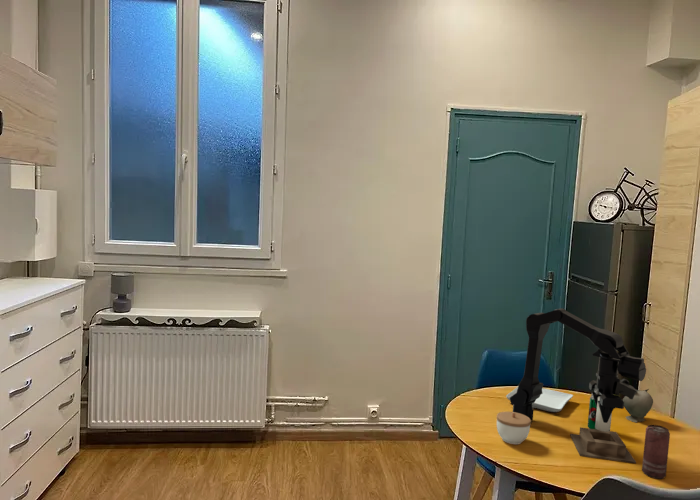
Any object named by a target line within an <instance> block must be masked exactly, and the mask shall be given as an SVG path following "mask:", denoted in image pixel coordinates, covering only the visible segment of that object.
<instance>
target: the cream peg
mask: <svg viewBox="0 0 700 500" xmlns="http://www.w3.org/2000/svg"><path fill="white" fill-rule="evenodd" d="M598 401H600V396H599V397H598ZM612 415H613V412H612V413H611V415H610V418H609V420H608V422H607V423H604V422H603V419H602V415H601V412H600V408H599V405H598V402H597V412H596V423H595V428H596V429H597V430H600V431H604V432H609V431H611V425H612Z"/></svg>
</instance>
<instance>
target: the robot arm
mask: <svg viewBox="0 0 700 500" xmlns="http://www.w3.org/2000/svg"><path fill="white" fill-rule="evenodd" d="M556 322H559V323H561V325H562V324H563V326H566V327H567V328H568V329H569V328H570V329H571V330H573V331H575V332H576V333H578V334H580V335H582V336H584V337H585V338H587V339H589V340H590V342H591V343H592V344H593V345H594V346H595V347H596V348H597V351H595V352H593V353H592V356H593V357H597V358H598V366H597V367H598V369H597V372H595V376H596V378H597V379H596V380H595V379H593V380H591V381H590V382H589V385H588V388H589V390H590V391H592V392H591V395H593V398H594V401H595V404H596V407H597V402H598V405H599V408H600V412H601V415H602V419H603V422H604V423H607V422H608V420H609V418H610V415H611V413H612V414H613V411H614V409H619V410H620V409H621V410H623V409H624V408H625V407H624V402H623V398H622V397H620V396H619V395H620V394H621V395H623V397H625V396H627V397H629V398H630V399H633V398H634V396H635V394H636V392H637V390H638V389H636V388H635V387H634V386H632V385H631V384H630V381H629V380H628V379H632V380H635V381H639V382H643V380H644V379H645V377H646V374H647V367H646V363H645V359H644V358H641V357H635V356H631V355H630V353H629V351H628V349H627V347H626V346H625V344H624V340H623V337H622V336H621V334H619V333H617V332H614V331H611V330H609V329H604V328H599V327H597V326H595V325H594V324H591V323H589V322H587V321H586V320H584V319H582V318H580V317H578V316H576V315H575V314H573V313H571V312H569V311H567V310H566V309H565V308H561V307H560V308H556V309H553V310H551V311H548V312H538V313H536V312H535V313H532V314H529V315H528V316H527V317H526V320H525V327H526V328H525V330H526V333H527V336H528V343H527V344H528V345H527V351H526V358H525V366H524V372H523V377H522V378H521V380H520V382H519V384H518V385H517V387H518V389H517V393H516V394H514V395H513V396H511V397H510V400H509V401H510V404H512V412H516V413H520V414H523V415H525V416H527V417H529V418H530V420H531V424H532V423H533V420H534V408H533V407H532V403H534V402H535V401H536V399H538V398H539V397H540V395H541V394H543V393H542V388H544V383H543V382H540V380H539V373H540V372H539V371H540V364H541V356H542V350H543V344H544V343H543V342H544V341H543V340H544V339H545V337H546V335H547V334H548V331H549V328H550V326H551V324H554V323H556ZM619 375H620V376H621V377H623V378H621V379H620V378H619V377H618V376H619ZM593 390H594V391H593ZM599 396H600V401H598V397H599ZM531 424H530V425H531Z"/></svg>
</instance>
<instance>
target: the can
mask: <svg viewBox="0 0 700 500" xmlns="http://www.w3.org/2000/svg"><path fill="white" fill-rule="evenodd" d="M644 434H645V435H644V436H645V437H644V446H643V447H644V448H643V456H642V457H643V458H642V467H641V471H642V473H643V474H644V475H645V476H647V477H649V478H652V479H655V480H656V479H657V480H662V479H663V480H664V478H665V477H667V468H668V457H669V447H670V445H669V444H670V437H671V433H670V430H669V429H668V428H666V427H665V426H661V425H658V424H648V425H647V426H646V428H645V433H644Z"/></svg>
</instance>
